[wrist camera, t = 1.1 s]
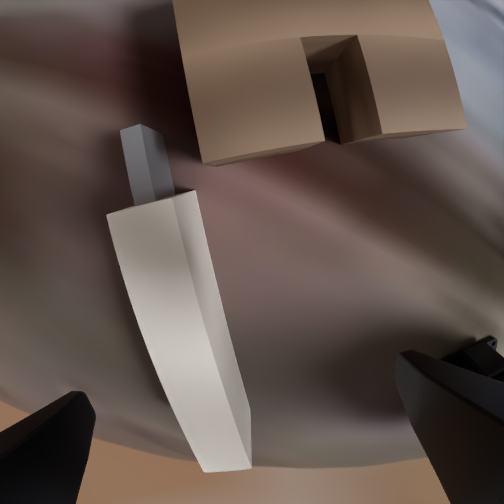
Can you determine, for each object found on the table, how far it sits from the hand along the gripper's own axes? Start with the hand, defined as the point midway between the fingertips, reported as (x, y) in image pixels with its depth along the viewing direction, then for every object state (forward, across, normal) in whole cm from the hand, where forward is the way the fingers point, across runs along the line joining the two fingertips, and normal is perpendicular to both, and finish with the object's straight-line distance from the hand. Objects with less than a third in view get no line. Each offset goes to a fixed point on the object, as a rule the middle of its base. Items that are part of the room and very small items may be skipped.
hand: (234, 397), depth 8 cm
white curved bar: (+12, +3, +1) cm, 12 cm away
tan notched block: (+12, -6, -11) cm, 17 cm away
